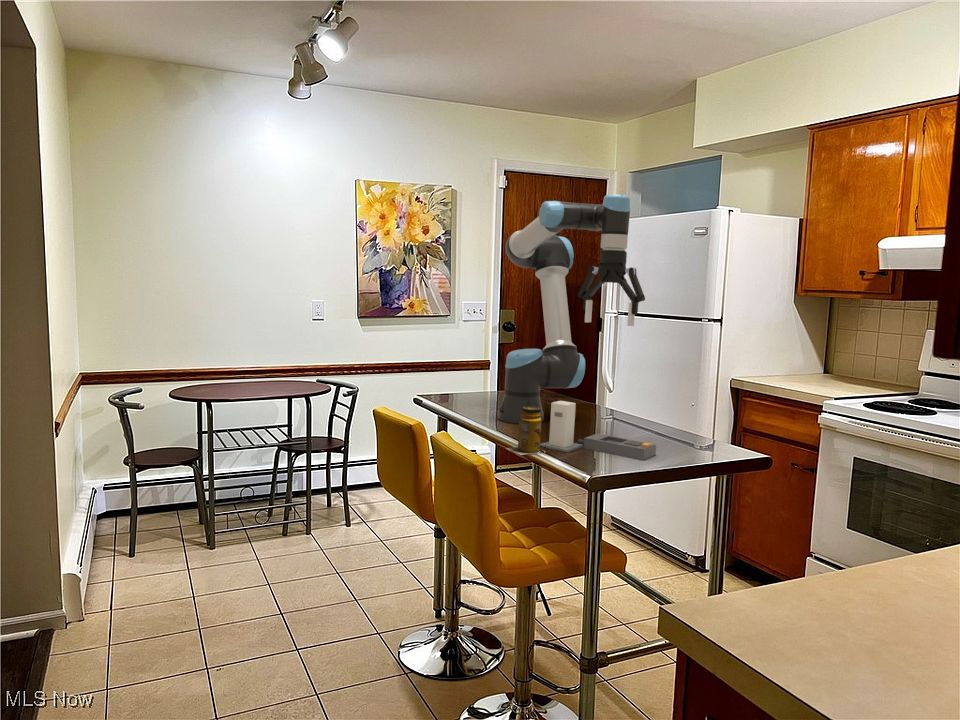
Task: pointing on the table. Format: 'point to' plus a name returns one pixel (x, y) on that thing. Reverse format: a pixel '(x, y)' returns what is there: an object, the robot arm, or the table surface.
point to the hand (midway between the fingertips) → (608, 324)
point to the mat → (566, 449)
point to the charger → (562, 423)
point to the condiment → (528, 431)
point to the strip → (619, 446)
